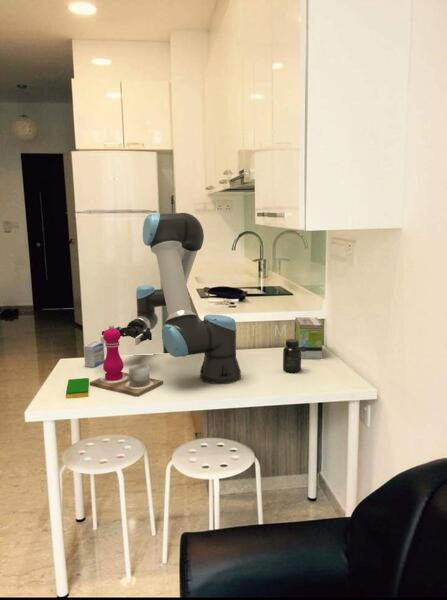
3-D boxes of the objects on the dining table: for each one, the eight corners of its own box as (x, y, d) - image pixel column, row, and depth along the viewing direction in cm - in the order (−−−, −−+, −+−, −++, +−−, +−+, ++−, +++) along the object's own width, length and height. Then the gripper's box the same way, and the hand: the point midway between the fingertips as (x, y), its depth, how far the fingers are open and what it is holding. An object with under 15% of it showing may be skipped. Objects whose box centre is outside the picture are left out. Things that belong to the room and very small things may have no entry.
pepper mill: (119, 382, 180) (116, 327, 176) (100, 380, 181) (97, 326, 177) (127, 375, 187) (124, 322, 183) (108, 374, 188) (106, 321, 184)
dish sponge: (89, 383, 183) (88, 377, 183) (88, 397, 170) (87, 390, 170) (68, 385, 182) (68, 379, 181) (66, 399, 169) (65, 392, 168)
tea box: (322, 359, 209) (323, 324, 206) (298, 359, 209) (299, 324, 206) (316, 349, 224) (317, 316, 221) (293, 349, 224) (294, 316, 221)
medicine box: (94, 368, 200) (93, 346, 198) (84, 367, 201) (83, 346, 200) (105, 362, 207) (103, 341, 206) (95, 361, 209) (94, 340, 207)
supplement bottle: (285, 367, 199) (285, 337, 197) (302, 369, 197) (303, 339, 194) (280, 372, 193) (281, 342, 191) (298, 374, 190) (299, 343, 188)
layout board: (163, 384, 181) (162, 364, 180) (137, 396, 169) (136, 376, 168) (117, 374, 192) (116, 355, 191) (89, 385, 181) (88, 365, 179)
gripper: (167, 337, 207) (151, 352, 186) (110, 335, 211) (88, 349, 191) (167, 319, 205) (150, 332, 185) (109, 317, 210) (86, 329, 189)
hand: (118, 340), depth 188 cm, fingers open, 13 cm apart
